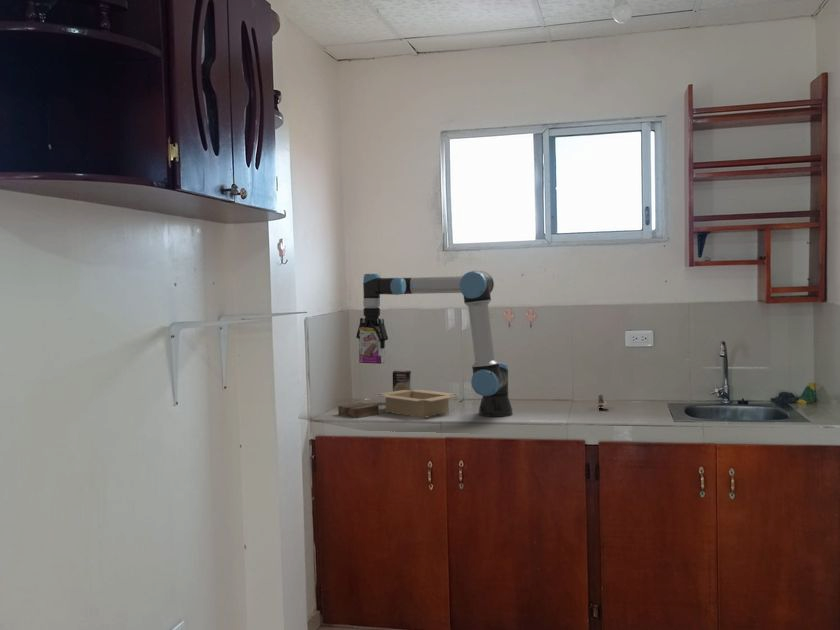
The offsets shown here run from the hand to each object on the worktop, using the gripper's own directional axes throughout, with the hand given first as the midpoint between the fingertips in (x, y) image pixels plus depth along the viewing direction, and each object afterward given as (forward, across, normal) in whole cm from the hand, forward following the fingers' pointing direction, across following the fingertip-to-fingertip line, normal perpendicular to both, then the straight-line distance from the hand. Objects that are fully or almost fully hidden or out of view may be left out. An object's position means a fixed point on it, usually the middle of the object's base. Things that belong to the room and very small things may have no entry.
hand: (372, 354), depth 346 cm
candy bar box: (+4, 0, 0) cm, 4 cm away
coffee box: (+27, +11, -30) cm, 42 cm away
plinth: (+27, +4, +5) cm, 28 cm away
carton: (+27, -13, -16) cm, 34 cm away
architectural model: (+26, -74, -75) cm, 109 cm away
